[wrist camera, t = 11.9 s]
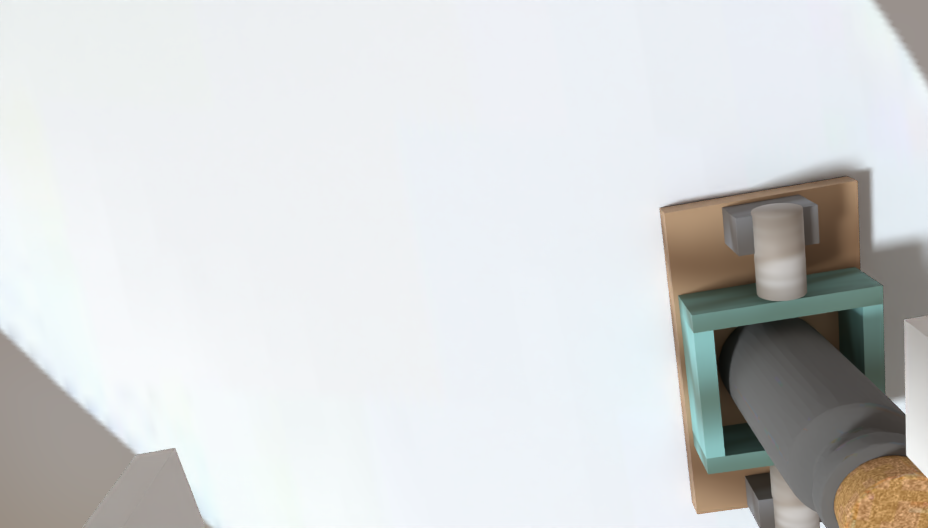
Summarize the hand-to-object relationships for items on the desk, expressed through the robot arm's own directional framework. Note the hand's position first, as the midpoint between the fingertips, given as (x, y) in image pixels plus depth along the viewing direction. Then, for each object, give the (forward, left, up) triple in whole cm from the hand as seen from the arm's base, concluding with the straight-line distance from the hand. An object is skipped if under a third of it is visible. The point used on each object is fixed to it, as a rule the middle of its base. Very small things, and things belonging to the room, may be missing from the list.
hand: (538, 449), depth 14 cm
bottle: (+13, +13, -28) cm, 33 cm away
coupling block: (+13, +13, -29) cm, 34 cm away
